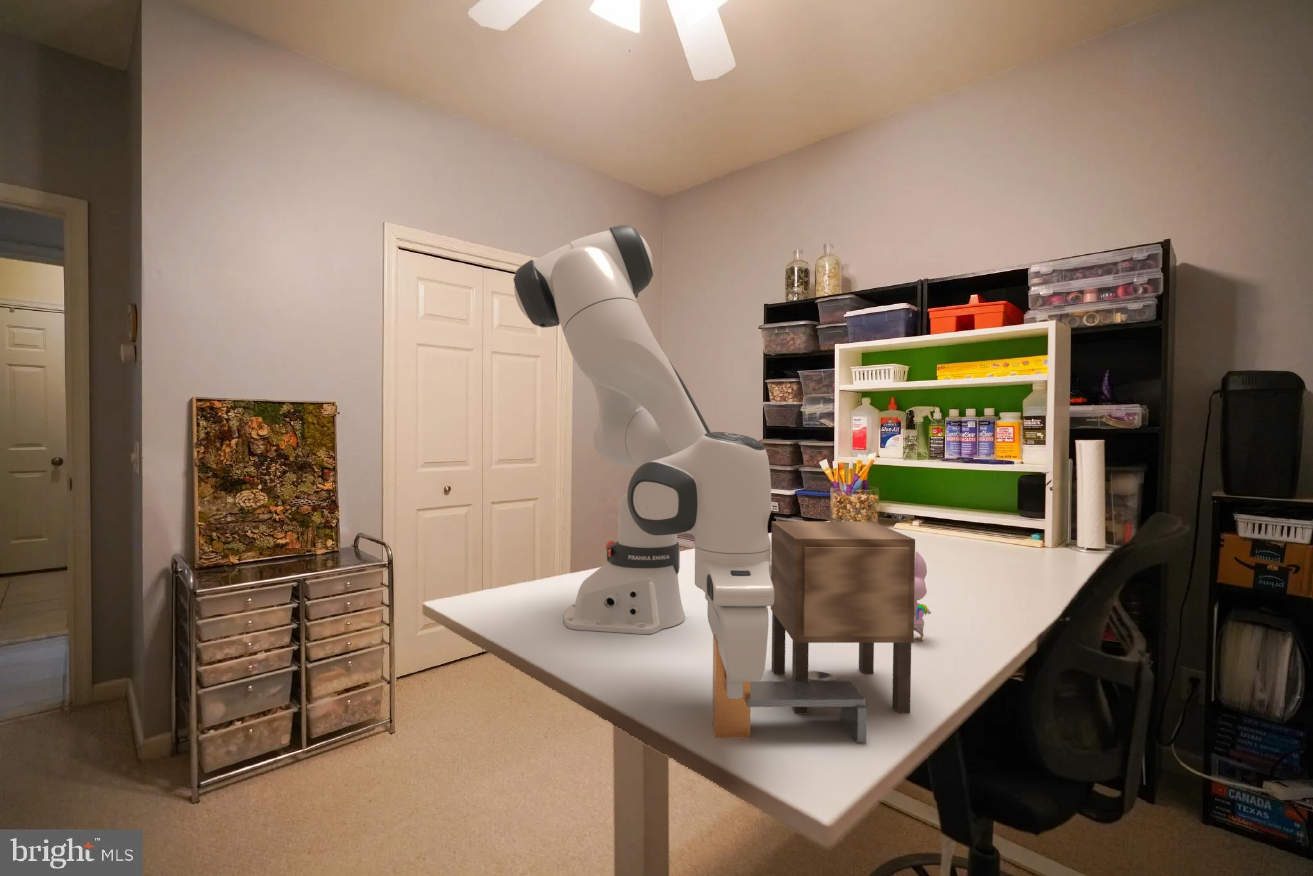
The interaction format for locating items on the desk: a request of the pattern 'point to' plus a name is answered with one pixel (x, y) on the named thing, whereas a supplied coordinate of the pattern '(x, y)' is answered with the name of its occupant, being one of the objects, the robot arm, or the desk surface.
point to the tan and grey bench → (782, 701)
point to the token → (820, 676)
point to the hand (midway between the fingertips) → (731, 687)
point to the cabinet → (843, 595)
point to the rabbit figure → (919, 594)
